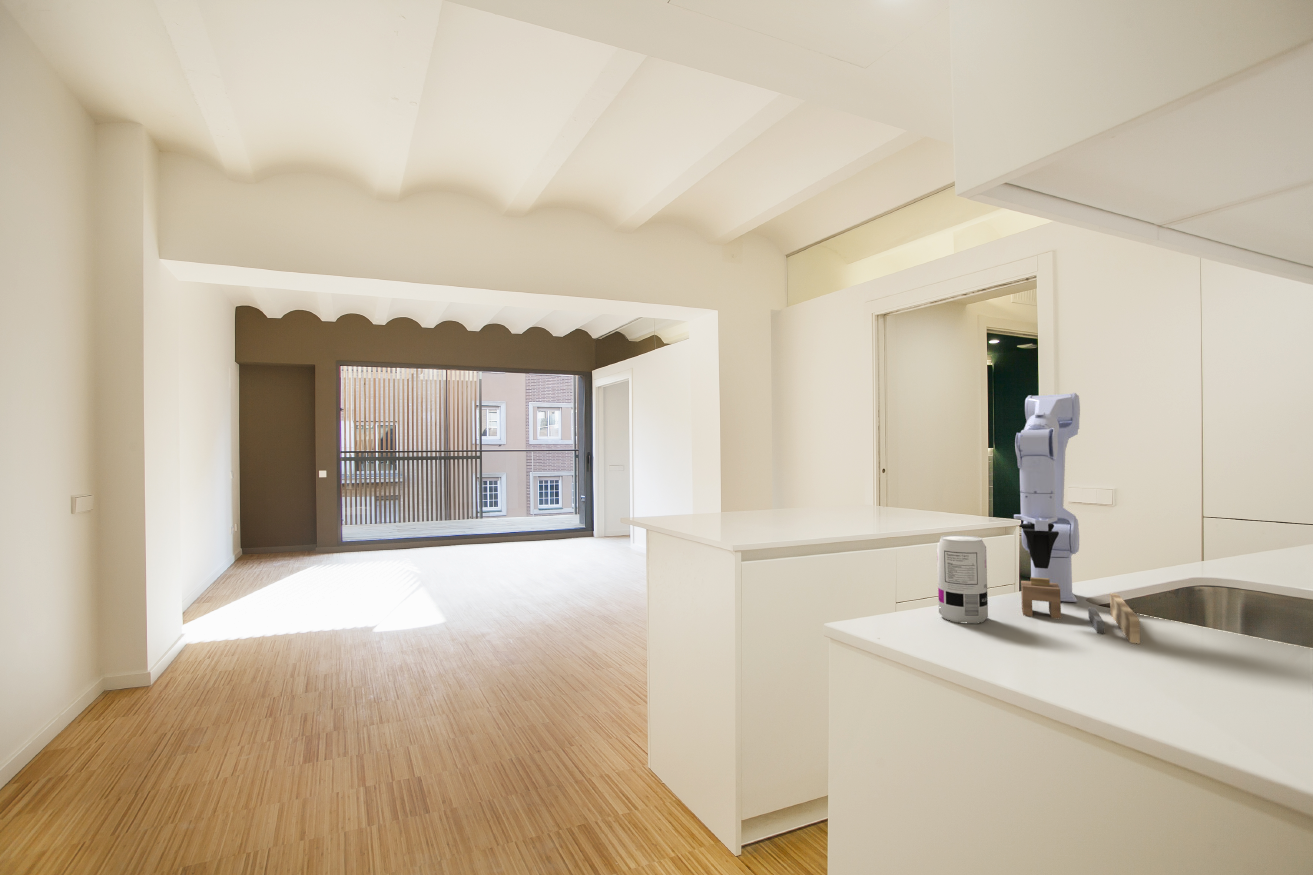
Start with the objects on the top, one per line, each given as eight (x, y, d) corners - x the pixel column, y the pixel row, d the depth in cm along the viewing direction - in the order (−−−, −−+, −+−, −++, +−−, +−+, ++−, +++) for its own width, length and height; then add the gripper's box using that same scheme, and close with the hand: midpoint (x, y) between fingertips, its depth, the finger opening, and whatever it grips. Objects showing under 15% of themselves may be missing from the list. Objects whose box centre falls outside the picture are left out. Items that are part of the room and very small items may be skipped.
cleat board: (1085, 612, 119) (1084, 591, 119) (1118, 615, 116) (1117, 593, 116) (1101, 639, 103) (1100, 615, 103) (1139, 643, 100) (1139, 618, 100)
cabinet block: (1021, 608, 122) (1020, 574, 122) (1058, 612, 119) (1057, 576, 119) (1023, 615, 118) (1022, 579, 118) (1061, 618, 115) (1060, 582, 115)
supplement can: (929, 614, 119) (927, 536, 119) (964, 610, 122) (962, 533, 122) (962, 626, 112) (959, 542, 112) (998, 621, 114) (996, 539, 114)
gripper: (1011, 489, 127) (1013, 556, 127) (1015, 495, 114) (1017, 569, 114) (1052, 489, 124) (1054, 558, 124) (1060, 496, 111) (1063, 572, 111)
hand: (1039, 564), depth 119 cm, fingers open, 7 cm apart
